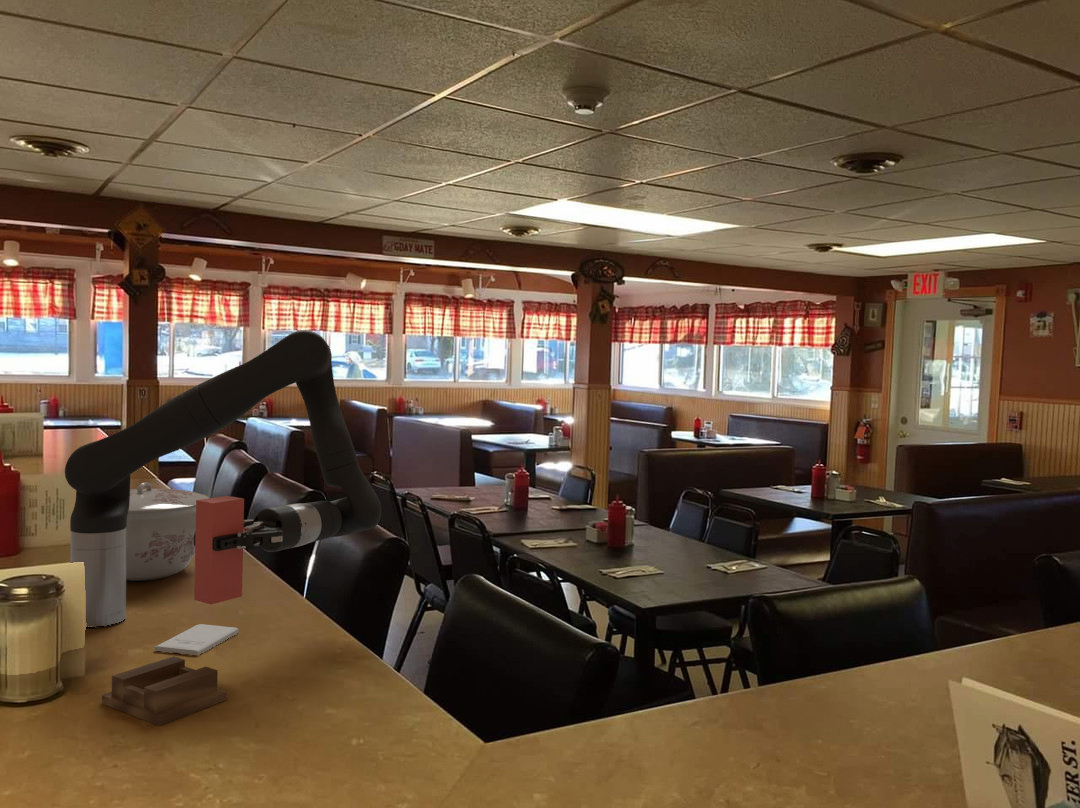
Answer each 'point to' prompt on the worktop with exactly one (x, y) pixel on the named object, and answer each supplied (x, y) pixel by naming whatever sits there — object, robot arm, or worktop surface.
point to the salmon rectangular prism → (218, 568)
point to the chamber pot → (159, 532)
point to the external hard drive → (197, 639)
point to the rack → (164, 691)
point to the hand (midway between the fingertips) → (205, 542)
